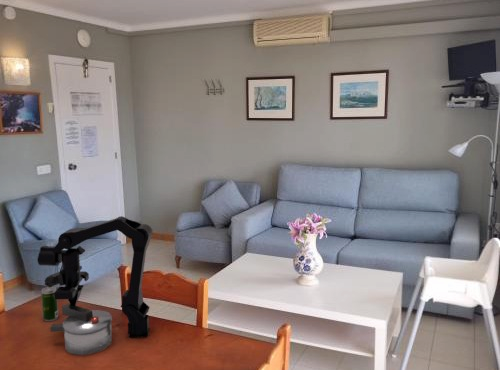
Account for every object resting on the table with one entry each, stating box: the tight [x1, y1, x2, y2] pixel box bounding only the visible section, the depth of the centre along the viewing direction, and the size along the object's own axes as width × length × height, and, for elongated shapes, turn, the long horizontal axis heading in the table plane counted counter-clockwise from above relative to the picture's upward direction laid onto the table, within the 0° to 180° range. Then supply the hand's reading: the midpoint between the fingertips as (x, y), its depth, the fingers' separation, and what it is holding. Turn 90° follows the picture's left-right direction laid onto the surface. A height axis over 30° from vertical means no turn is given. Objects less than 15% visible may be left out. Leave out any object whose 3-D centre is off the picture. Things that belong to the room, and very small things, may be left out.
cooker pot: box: [49, 323, 113, 356], centre depth 150 cm, size 20×15×7 cm
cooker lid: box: [61, 303, 113, 334], centre depth 150 cm, size 19×16×4 cm
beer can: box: [40, 286, 59, 322], centre depth 168 cm, size 5×5×12 cm
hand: (73, 307), depth 156 cm, fingers closed
